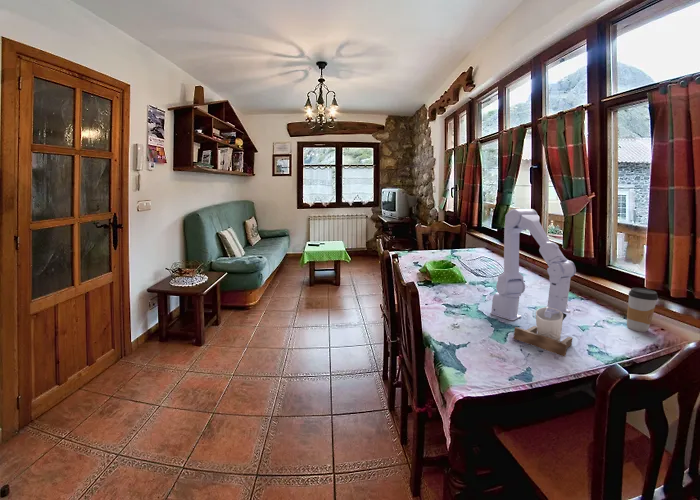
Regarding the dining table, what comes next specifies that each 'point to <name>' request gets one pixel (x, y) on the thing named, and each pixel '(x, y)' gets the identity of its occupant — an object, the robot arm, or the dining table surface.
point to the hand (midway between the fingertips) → (553, 332)
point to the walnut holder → (542, 340)
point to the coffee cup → (640, 308)
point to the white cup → (549, 324)
